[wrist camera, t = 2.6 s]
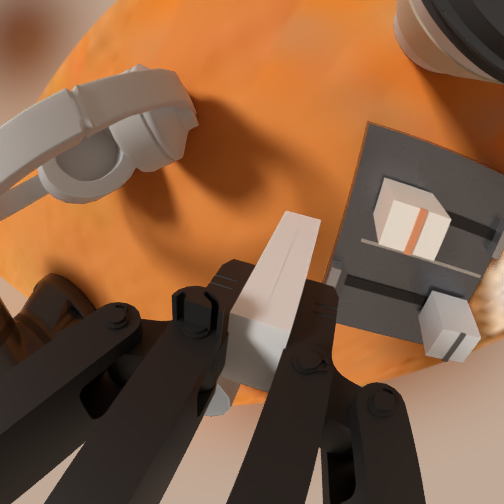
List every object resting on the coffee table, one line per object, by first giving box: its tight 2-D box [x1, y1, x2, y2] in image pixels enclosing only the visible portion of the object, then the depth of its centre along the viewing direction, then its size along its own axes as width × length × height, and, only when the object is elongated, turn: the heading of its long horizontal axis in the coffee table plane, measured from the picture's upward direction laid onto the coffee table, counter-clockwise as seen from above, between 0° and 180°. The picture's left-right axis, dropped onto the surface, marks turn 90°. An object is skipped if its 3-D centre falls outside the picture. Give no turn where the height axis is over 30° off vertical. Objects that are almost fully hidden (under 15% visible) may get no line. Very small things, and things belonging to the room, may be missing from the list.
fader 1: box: [373, 178, 452, 261], centre depth 19 cm, size 4×3×5 cm
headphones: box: [0, 64, 199, 221], centre depth 18 cm, size 19×8×20 cm, turn 112°
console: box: [322, 121, 504, 344], centre depth 23 cm, size 14×18×3 cm
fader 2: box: [418, 291, 481, 363], centre depth 22 cm, size 4×3×5 cm
